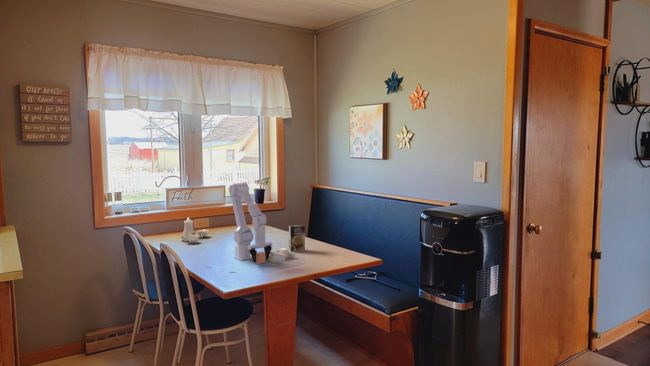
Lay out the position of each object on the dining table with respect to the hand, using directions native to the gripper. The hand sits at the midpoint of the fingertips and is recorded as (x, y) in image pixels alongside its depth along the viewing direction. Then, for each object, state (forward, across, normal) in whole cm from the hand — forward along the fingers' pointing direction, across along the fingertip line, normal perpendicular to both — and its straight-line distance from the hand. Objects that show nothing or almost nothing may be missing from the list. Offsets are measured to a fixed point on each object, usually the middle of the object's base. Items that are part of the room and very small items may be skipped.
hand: (260, 260), depth 243 cm
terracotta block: (+2, 0, 0) cm, 2 cm away
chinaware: (+2, -6, +82) cm, 82 cm away
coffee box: (+2, +31, +9) cm, 32 cm away
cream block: (+1, +15, 0) cm, 15 cm away
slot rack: (+1, +12, 0) cm, 12 cm away
